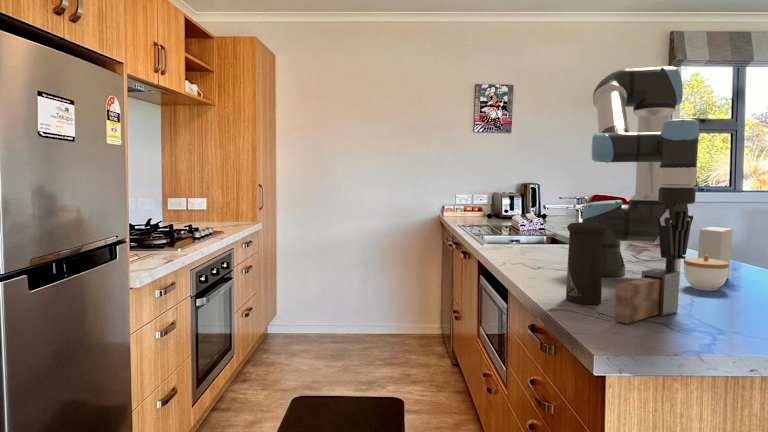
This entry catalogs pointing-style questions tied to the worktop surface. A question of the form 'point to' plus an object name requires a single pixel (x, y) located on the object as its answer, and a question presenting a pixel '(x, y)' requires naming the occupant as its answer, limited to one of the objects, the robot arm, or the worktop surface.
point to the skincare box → (715, 244)
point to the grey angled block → (666, 288)
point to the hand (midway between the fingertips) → (671, 285)
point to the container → (585, 263)
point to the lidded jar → (705, 273)
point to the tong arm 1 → (619, 296)
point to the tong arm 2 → (641, 300)
